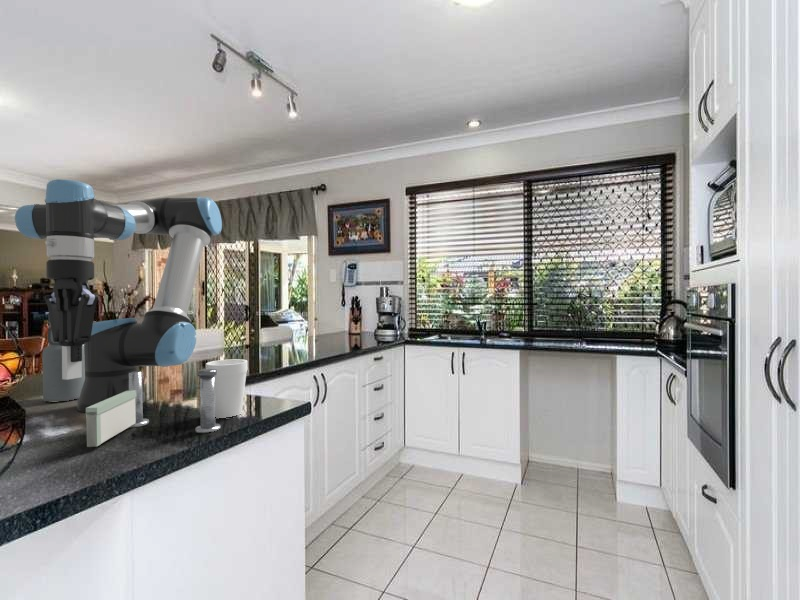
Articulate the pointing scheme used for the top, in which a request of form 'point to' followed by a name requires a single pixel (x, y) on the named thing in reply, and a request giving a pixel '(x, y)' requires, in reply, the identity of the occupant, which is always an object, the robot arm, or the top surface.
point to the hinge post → (137, 397)
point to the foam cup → (229, 386)
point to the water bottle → (58, 373)
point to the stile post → (207, 401)
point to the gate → (110, 417)
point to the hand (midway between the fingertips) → (72, 378)
